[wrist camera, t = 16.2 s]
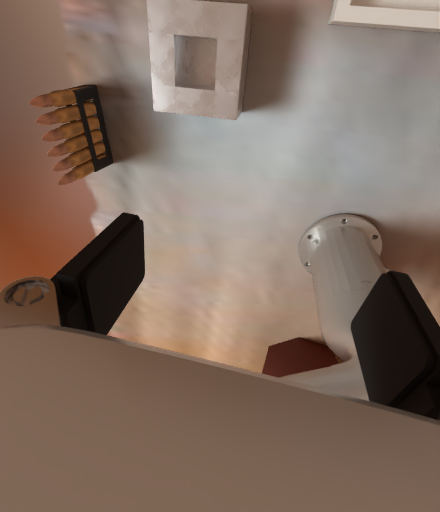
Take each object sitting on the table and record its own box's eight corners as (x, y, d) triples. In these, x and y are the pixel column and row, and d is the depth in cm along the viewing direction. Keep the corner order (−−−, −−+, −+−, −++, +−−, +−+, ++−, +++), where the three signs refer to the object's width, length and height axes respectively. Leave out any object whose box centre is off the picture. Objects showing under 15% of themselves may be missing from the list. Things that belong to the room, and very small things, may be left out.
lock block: (252, 13, 31) (247, 4, 26) (241, 112, 37) (236, 120, 32) (166, 6, 32) (146, -4, 27) (169, 104, 38) (153, 110, 33)
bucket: (304, 398, 73) (314, 526, 53) (232, 365, 70) (213, 487, 50) (375, 355, 59) (424, 507, 39) (288, 311, 56) (293, 451, 36)
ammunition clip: (113, 163, 44) (67, 191, 34) (102, 162, 44) (53, 190, 35) (96, 85, 38) (33, 93, 28) (83, 84, 38) (18, 93, 29)
